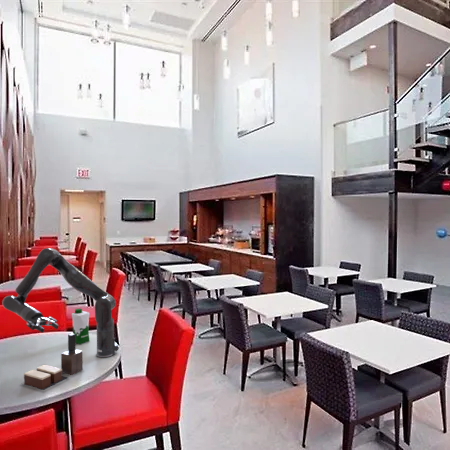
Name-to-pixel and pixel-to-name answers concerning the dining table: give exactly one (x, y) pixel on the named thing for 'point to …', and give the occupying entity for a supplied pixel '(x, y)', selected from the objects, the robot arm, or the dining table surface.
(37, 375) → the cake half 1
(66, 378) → the cake board
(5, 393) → the dining table surface
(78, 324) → the milk carton
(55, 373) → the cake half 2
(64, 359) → the knife block
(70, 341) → the knife
